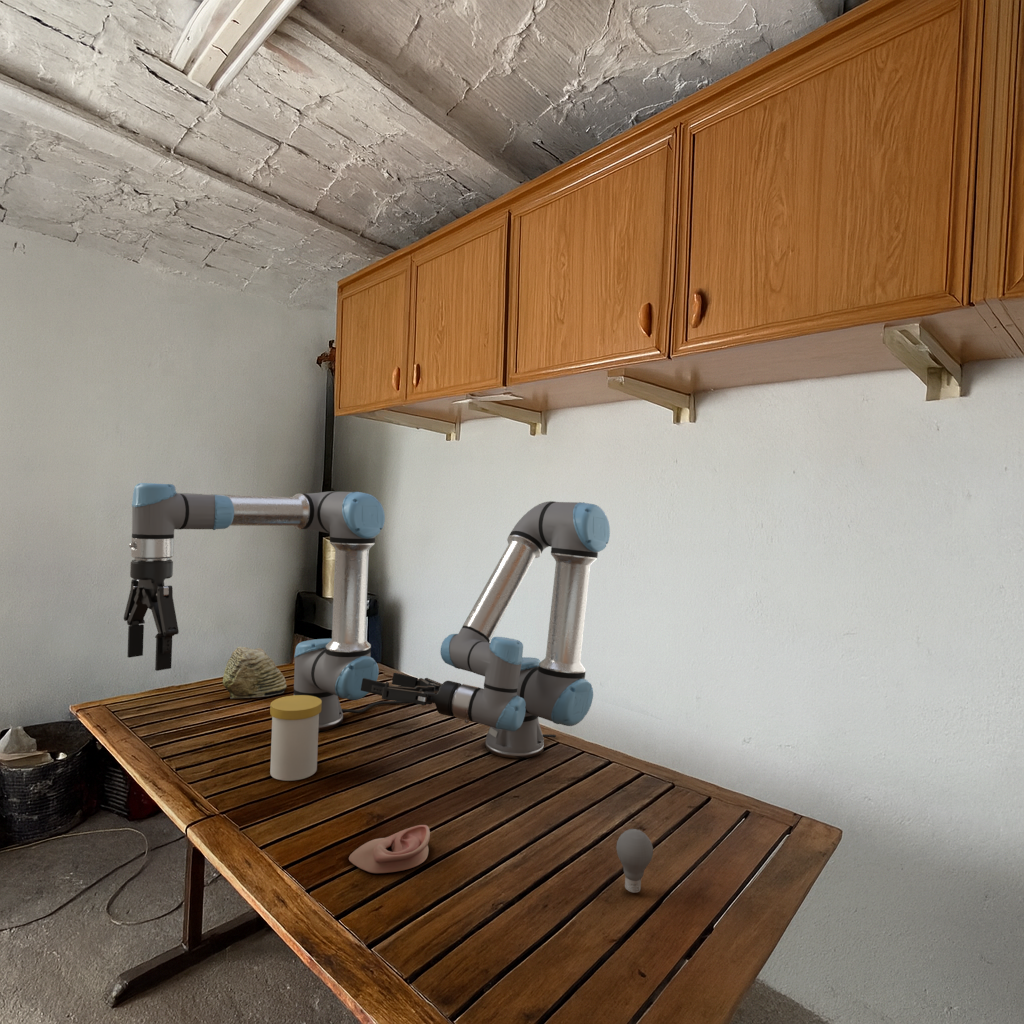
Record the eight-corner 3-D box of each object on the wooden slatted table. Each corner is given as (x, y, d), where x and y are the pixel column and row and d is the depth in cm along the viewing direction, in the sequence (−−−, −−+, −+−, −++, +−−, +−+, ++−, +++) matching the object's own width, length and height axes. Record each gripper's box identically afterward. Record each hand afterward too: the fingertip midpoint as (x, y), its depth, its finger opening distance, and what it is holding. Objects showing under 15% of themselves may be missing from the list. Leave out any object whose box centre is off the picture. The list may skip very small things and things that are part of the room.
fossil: (218, 695, 195) (220, 647, 195) (278, 685, 208) (279, 640, 207) (228, 703, 189) (230, 653, 188) (289, 692, 201) (290, 645, 201)
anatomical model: (341, 845, 108) (369, 813, 120) (340, 868, 108) (368, 833, 120) (414, 857, 106) (436, 823, 117) (413, 880, 106) (435, 844, 117)
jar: (321, 762, 151) (323, 697, 151) (311, 781, 141) (313, 712, 141) (277, 761, 150) (280, 697, 150) (264, 780, 140) (266, 711, 140)
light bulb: (610, 879, 108) (613, 822, 108) (644, 879, 109) (647, 822, 109) (619, 902, 102) (622, 840, 102) (655, 901, 103) (658, 840, 103)
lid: (326, 704, 151) (326, 695, 151) (315, 720, 140) (315, 711, 140) (278, 703, 150) (278, 694, 150) (263, 719, 139) (263, 710, 139)
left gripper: (108, 554, 134) (104, 654, 134) (159, 565, 118) (155, 678, 119) (146, 552, 140) (143, 648, 140) (199, 563, 124) (195, 671, 124)
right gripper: (429, 726, 132) (344, 704, 139) (477, 709, 155) (402, 690, 162) (435, 690, 132) (350, 669, 140) (482, 678, 155) (407, 661, 163)
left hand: (148, 662), depth 129 cm, fingers open, 13 cm apart
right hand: (378, 681), depth 151 cm, fingers open, 13 cm apart
